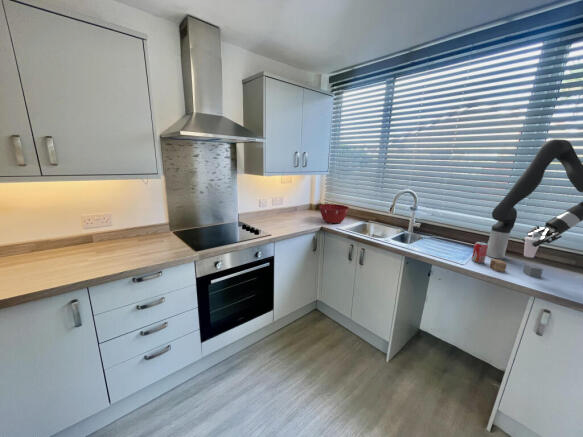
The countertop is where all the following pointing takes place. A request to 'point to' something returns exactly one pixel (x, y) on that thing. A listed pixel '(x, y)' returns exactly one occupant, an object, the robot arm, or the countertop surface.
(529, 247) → the smoothie
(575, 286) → the countertop surface
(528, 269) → the charcoal block
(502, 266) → the walnut block
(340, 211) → the mixing bowl
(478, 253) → the soda can
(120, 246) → the countertop surface
